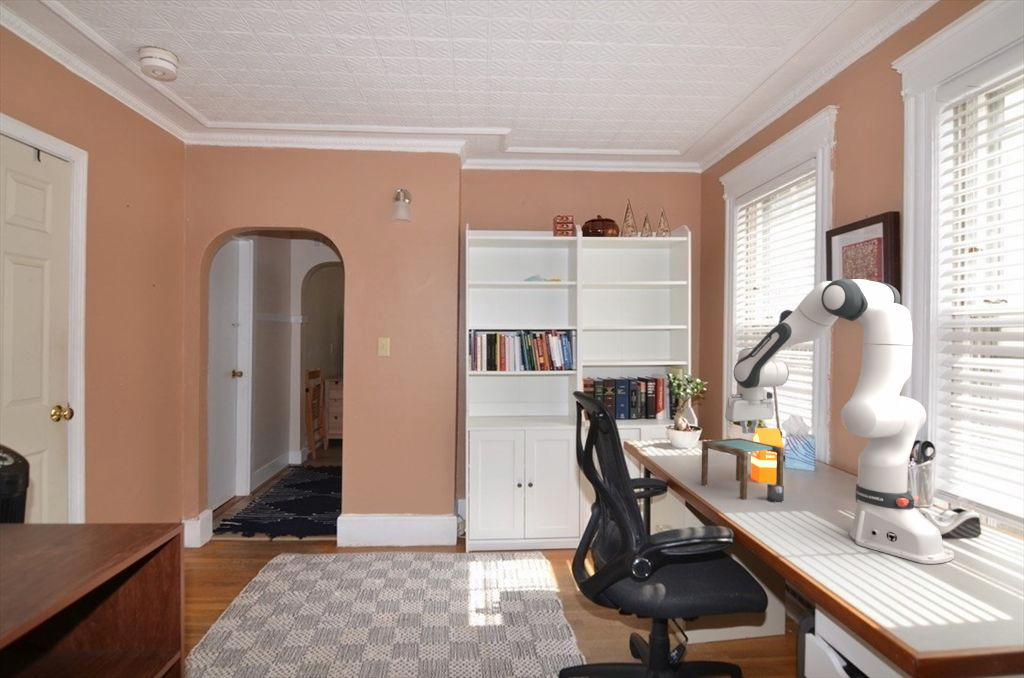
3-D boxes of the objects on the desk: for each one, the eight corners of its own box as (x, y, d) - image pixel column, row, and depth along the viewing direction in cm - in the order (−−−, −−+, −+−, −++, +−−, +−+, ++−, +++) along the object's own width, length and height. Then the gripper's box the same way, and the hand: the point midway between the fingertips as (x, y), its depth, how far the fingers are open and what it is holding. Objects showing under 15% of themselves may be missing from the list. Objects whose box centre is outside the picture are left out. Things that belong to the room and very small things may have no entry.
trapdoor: (772, 449, 191) (772, 446, 191) (743, 452, 185) (743, 449, 185) (739, 442, 204) (739, 439, 204) (711, 444, 198) (711, 441, 198)
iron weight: (786, 501, 181) (787, 486, 181) (776, 503, 179) (776, 488, 179) (773, 497, 185) (774, 482, 185) (763, 499, 183) (763, 484, 183)
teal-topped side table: (782, 493, 190) (783, 447, 190) (743, 499, 182) (744, 451, 182) (738, 480, 207) (739, 438, 207) (701, 484, 199) (702, 441, 199)
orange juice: (782, 483, 203) (784, 430, 203) (759, 483, 203) (760, 429, 203) (773, 478, 211) (774, 426, 211) (750, 477, 211) (751, 426, 211)
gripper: (735, 395, 184) (734, 436, 184) (777, 393, 193) (776, 432, 193) (721, 393, 190) (720, 433, 190) (762, 392, 199) (761, 429, 199)
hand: (749, 433), depth 192 cm, fingers closed
